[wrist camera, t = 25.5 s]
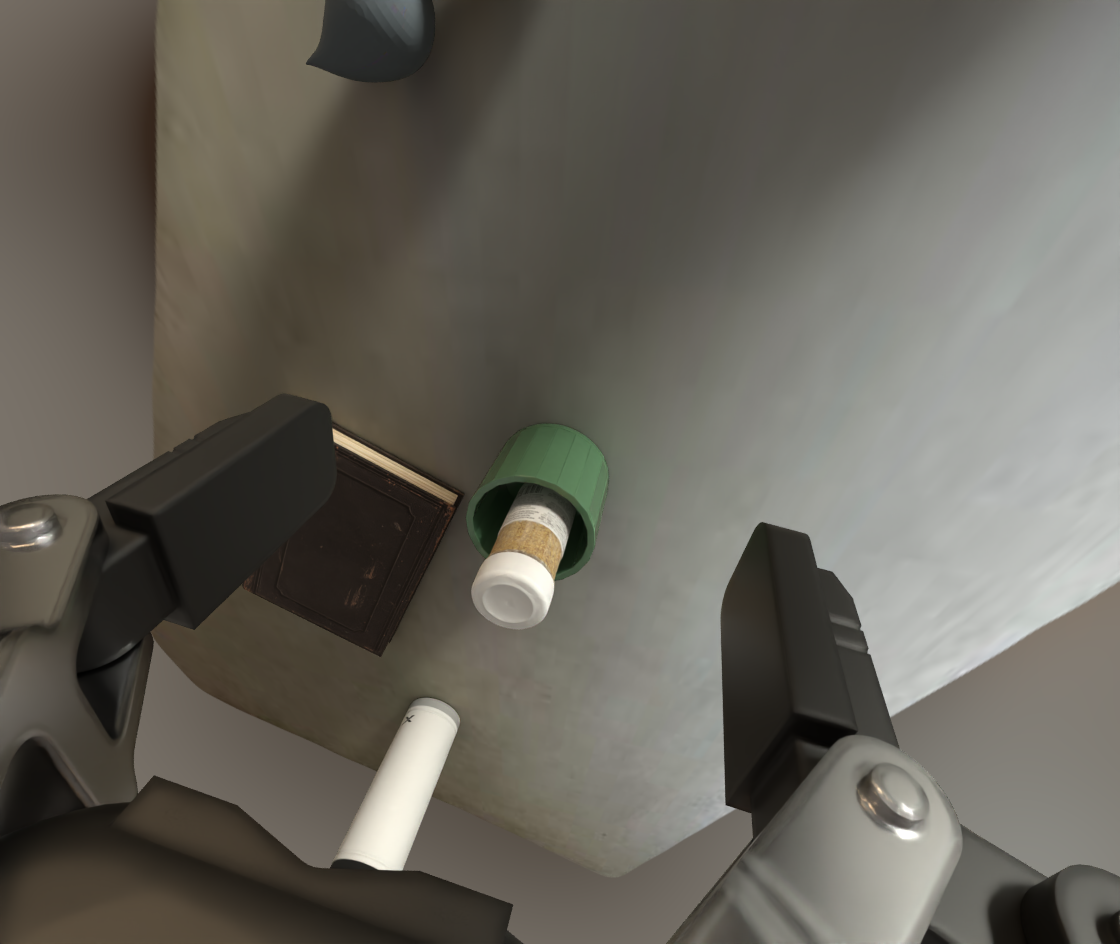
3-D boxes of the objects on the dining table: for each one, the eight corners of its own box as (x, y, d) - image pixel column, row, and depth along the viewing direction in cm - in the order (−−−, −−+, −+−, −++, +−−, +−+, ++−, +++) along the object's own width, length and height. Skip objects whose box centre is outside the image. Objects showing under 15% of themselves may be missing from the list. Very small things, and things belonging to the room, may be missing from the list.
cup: (588, 410, 38) (568, 463, 32) (623, 509, 42) (611, 573, 36) (481, 437, 41) (444, 490, 35) (523, 526, 45) (497, 588, 39)
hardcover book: (464, 493, 44) (454, 509, 42) (391, 640, 57) (380, 657, 55) (289, 399, 43) (270, 411, 41) (253, 571, 55) (238, 586, 54)
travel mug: (404, 691, 61) (298, 894, 45) (458, 702, 60) (370, 914, 44) (412, 723, 65) (316, 923, 48) (463, 734, 64) (383, 943, 47)
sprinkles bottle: (537, 504, 43) (482, 633, 31) (521, 455, 40) (457, 575, 29) (591, 499, 41) (555, 632, 30) (579, 448, 39) (535, 571, 28)
